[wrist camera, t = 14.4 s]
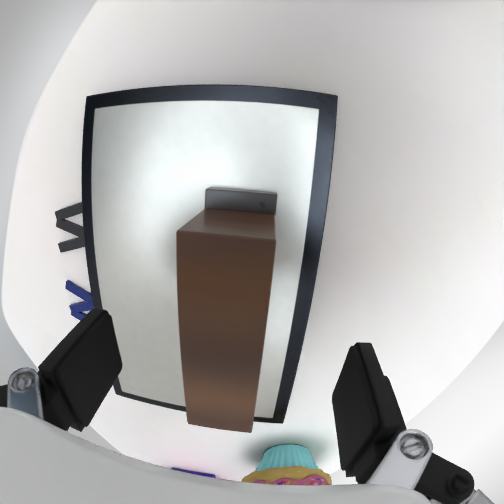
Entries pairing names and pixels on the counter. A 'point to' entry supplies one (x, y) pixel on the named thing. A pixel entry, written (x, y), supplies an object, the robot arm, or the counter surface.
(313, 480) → the cupcake
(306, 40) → the counter surface
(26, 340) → the counter surface
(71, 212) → the scribble
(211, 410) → the eraser
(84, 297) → the scribble
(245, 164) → the whiteboard
